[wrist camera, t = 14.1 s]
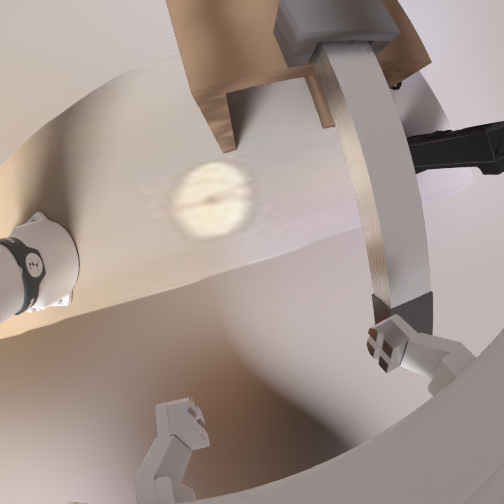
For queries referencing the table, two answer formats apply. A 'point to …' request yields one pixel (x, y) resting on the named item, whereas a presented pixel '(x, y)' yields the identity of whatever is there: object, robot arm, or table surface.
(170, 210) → the table surface
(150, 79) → the table surface
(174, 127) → the table surface
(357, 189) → the steel pull bar
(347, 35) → the walnut shelf stand
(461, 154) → the portable radio
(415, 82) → the table surface
